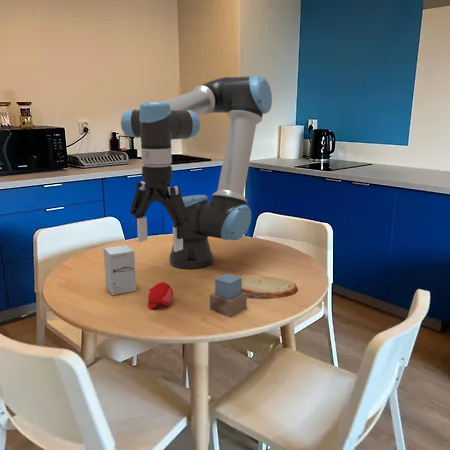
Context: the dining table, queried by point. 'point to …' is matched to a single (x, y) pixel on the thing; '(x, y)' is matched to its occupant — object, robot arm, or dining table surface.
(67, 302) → the dining table surface
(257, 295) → the slice of bread
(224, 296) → the tower top
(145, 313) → the dining table surface
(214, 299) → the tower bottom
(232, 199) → the robot arm
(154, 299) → the cap
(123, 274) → the supplement box
